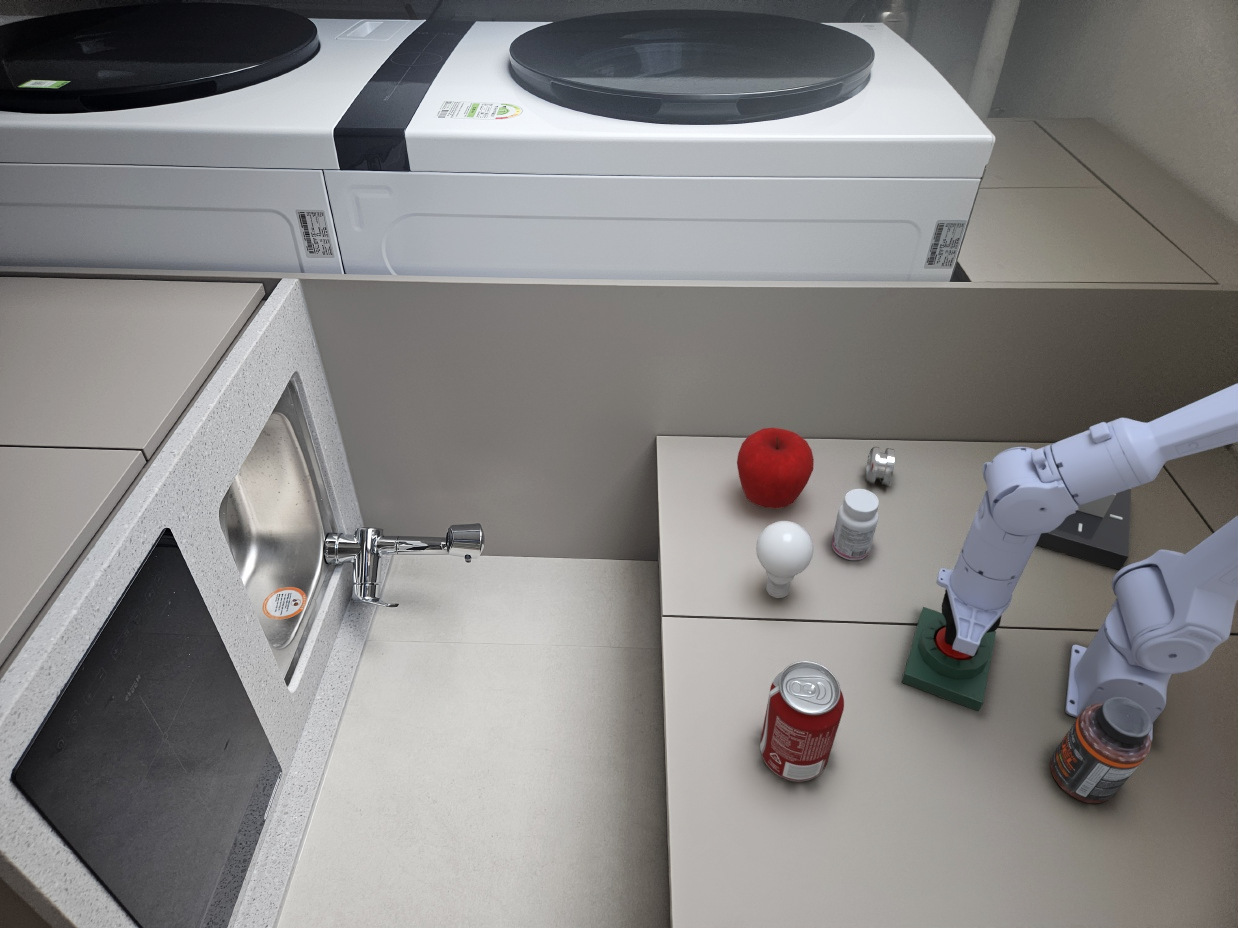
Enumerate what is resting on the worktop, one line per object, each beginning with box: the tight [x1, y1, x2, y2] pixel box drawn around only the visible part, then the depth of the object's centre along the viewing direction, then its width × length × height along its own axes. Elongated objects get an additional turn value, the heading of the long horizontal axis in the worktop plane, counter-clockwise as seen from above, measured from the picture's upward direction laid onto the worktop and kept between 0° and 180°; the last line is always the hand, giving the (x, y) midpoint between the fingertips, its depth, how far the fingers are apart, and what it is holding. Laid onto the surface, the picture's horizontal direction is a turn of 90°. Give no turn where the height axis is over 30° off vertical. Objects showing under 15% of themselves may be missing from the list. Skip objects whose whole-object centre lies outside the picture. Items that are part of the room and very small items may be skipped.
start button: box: [934, 627, 972, 660], centre depth 87 cm, size 4×4×2 cm
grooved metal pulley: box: [865, 446, 896, 486], centre depth 109 cm, size 5×3×5 cm, turn 166°
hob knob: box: [1078, 494, 1116, 518], centre depth 101 cm, size 5×2×4 cm, turn 63°
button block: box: [901, 606, 997, 712], centre depth 88 cm, size 10×8×4 cm
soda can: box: [759, 660, 845, 783], centre depth 77 cm, size 7×7×12 cm
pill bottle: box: [831, 488, 880, 561], centre depth 99 cm, size 5×5×8 cm
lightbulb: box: [755, 520, 814, 599], centre depth 93 cm, size 6×6×11 cm
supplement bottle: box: [1049, 697, 1152, 804], centre depth 75 cm, size 6×6×11 cm
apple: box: [736, 427, 815, 509], centre depth 105 cm, size 10×10×11 cm
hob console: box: [1036, 488, 1132, 571], centre depth 103 cm, size 13×11×3 cm
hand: (955, 641), depth 87 cm, fingers closed, pressing on start button
